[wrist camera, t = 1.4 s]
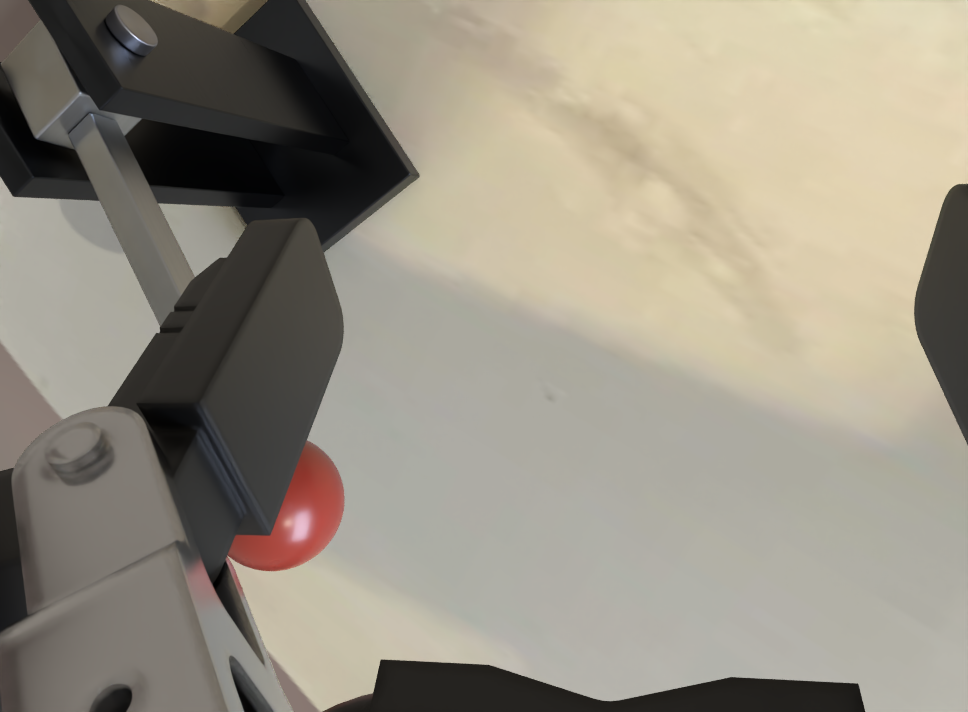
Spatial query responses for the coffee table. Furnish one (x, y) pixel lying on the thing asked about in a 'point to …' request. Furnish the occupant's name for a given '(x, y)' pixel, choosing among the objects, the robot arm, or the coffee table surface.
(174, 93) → the black lever stand
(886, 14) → the coffee table surface
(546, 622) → the coffee table surface
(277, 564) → the red knobbed lever
